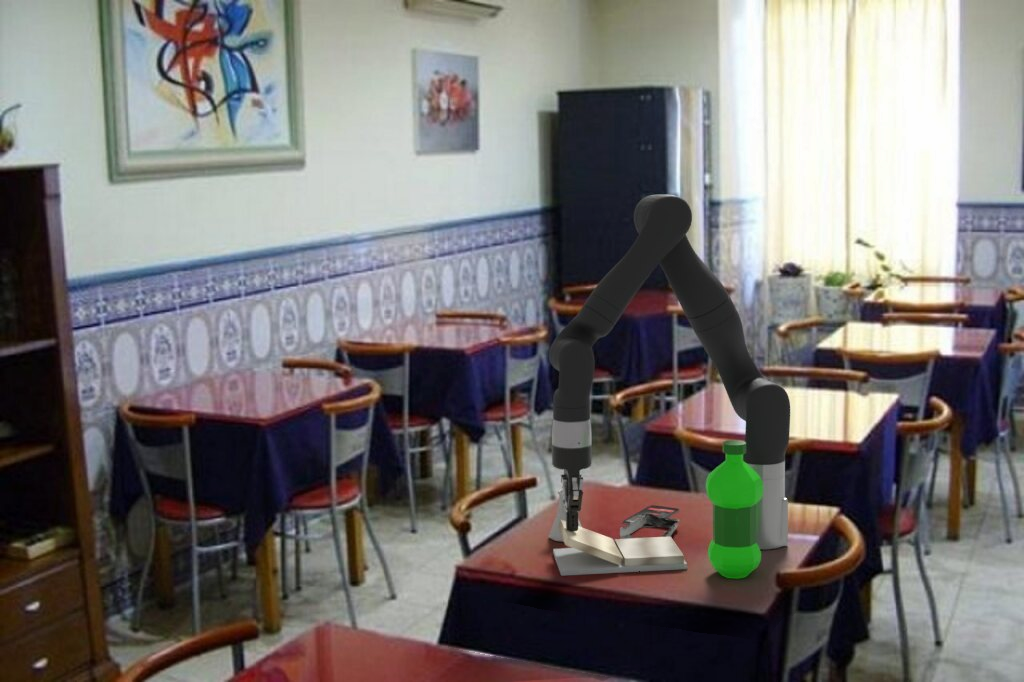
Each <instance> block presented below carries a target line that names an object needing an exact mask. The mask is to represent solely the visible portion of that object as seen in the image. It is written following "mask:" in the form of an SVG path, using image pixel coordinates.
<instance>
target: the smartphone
mask: <svg viewBox="0 0 1024 682" xmlns="http://www.w3.org/2000/svg"><path fill="white" fill-rule="evenodd" d="M679 512H680V508H676V507H668V506H660V505H652V504H651V505H649V506H647V507H645V508H643V509H642V510H639V511H638V512H636V513H635V514H633V515H631V516H630V517H628V518H626V519H624V520H623V521H621V524H622V525H627V526H628V525H629V523H631V522H634V520H636V519H637V518H640V521H641V520H642V518H643V517H644V515H645V514H646V513H652V514H654V515H656V516H659V517H660V518H662V517H663V518H669V519H670V517H672V516H673V515H675V514H676V513H679ZM643 527H644V528H654V527H656V526H655V525H650V524H645V525H643ZM643 527H642V528H643Z"/></svg>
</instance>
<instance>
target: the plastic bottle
mask: <svg viewBox="0 0 1024 682" xmlns="http://www.w3.org/2000/svg"><path fill="white" fill-rule="evenodd" d="M722 453H723V454H725V460H724V461H723V462H721V463H720V464H719V465H718V466H716V467H715V468H714V469H713V470H712V471H710V473H708V475H707V478H706V479H705V490H706V495H707V497H708V499H709V500H710V502H711V503H712V539H711V541H710V543H709V545H708V547H707V556H708V559H709V561H710V563H711V566H712V567H713V569H714V570H715V571H716V572H718V574H720V575H721V576H722V577H724V578H727V579H736V580H738V579H745V578H746V577H748V576H749V575H750V574H751V573H752V572H753V571H755V570H756V569H757V568H758V567H759V565H760V563H761V561H762V551H761V549H759V546H758V544H757V543H756V504H757V503H758V502H759V501H760V500H761V499H762V495H763V482H762V480H761V477H760V476H759V475H758V473H757V472H755V471H754V470H753V469H752V468H751V467H750V466H749V465H748V464H747V463H745V462H744V461H743V454H745V453H746V442H744V440H739V439H732V440H731V439H730V440H724V441H723V442H722Z"/></svg>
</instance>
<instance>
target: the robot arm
mask: <svg viewBox="0 0 1024 682" xmlns="http://www.w3.org/2000/svg"><path fill="white" fill-rule="evenodd" d="M692 222H693V214H692V210H691V207H690V205H689V203H688V202H687V201H686V200H685V199H683V198H682V197H680V196H678V195H676V194H675V195H674V194H666V193H665V194H652V195H647V196H644V197H643V198H641V200H640V201H639V202H638V203H637V204H636V205H635V209H634V213H633V223H634V227H635V229H636V230H635V231H636V232H637V234H638V236H637V237H636V239H635V241H634V242H633V244H632V245H631V246H630V248H629V250H628V251H627V252H626V254H624V256H623V257H622V258H621V259H620V260H619V262H617V263H616V264H615V265H614V266H613V267H612V268H611V269H610V270H609V272H607V274H606V275H604V276H603V278H602V279H601V280H600V281H599V282H598V284H597V285H596V286H595V287H594V289H593V290H592V292H591V293H590V294H589V296H588V298H587V299H586V301H585V302H584V304H583V305H582V306H581V308H580V309H579V311H578V313H577V314H576V316H575V317H573V319H572V320H570V321H569V322H568V324H567V325H566V326H565V327H564V328H563V329H562V330H561V331H560V332H559V333H558V335H557V336H556V338H554V340H553V342H552V343H551V345H550V348H549V352H548V359H549V362H550V364H551V366H552V367H553V368H554V369H555V370H557V371H558V373H559V375H558V387H557V389H555V391H554V393H553V398H552V405H553V406H552V414H553V415H552V429H551V443H552V444H551V464H552V466H553V467H554V469H555V468H556V469H558V470H563V474H560V483H561V490H562V496H563V499H564V500H563V503H564V504H565V506H564V508H565V510H566V528H567V531H577V530H578V519H579V513H580V512H581V510H582V501H583V495H584V491H583V487H584V477H583V476H582V473H580V472H581V470H586V469H588V468H590V467H591V466H592V423H591V397H590V396H591V391H592V388H593V387H592V386H593V382H594V376H595V368H596V367H595V365H596V363H595V355H594V351H593V349H592V347H593V346H594V345H595V344H596V342H597V341H598V340H599V339H600V338H604V337H606V336H607V335H609V333H610V332H611V331H612V330H613V328H614V326H616V324H617V323H618V321H619V319H620V318H621V317H622V314H623V313H625V311H626V309H627V307H628V305H630V303H631V301H632V300H633V298H634V297H635V296H636V295H637V292H638V291H639V290H640V289H641V287H642V286H643V285H644V283H645V281H646V280H648V278H649V277H650V276H651V275H652V273H653V272H654V270H655V269H656V268H657V267H658V266H660V268H661V269H662V272H664V275H665V277H666V278H667V281H668V283H669V286H670V287H671V289H672V291H673V293H674V295H675V297H676V299H677V301H678V303H679V305H680V307H681V309H682V311H683V313H684V315H685V317H686V320H687V321H688V322H689V325H690V327H691V328H692V330H693V332H694V333H695V334H696V337H697V338H698V340H699V342H700V344H701V346H702V347H703V348H704V350H705V352H706V354H707V355H708V357H709V359H710V360H711V362H712V364H713V365H714V367H715V368H716V371H717V373H718V374H719V377H720V379H721V382H722V384H723V387H724V390H725V391H726V394H727V396H728V399H729V402H730V404H731V406H732V408H733V410H734V413H736V415H737V416H738V417H739V418H740V419H742V420H743V421H745V433H744V434H745V435H744V436H745V437H744V440H743V441H744V442H746V453H745V454H743V461H744V462H745V463H747V464H748V465H749V466H750V467H751V468H752V469H753V470H754V471H755V472H757V473H758V475H759V476H760V477H761V480H762V482H763V495H762V499H761V500H760V501H759V502H758V503H757V504H756V543H757V544H758V546H759V549H760V550H773V549H779V548H781V547H788V546H789V541H788V540H789V526H788V525H789V500H788V498H787V497H786V495H785V494H786V491H785V490H786V471H785V470H786V451H787V450H788V447H789V445H790V444H789V443H790V431H791V429H790V428H791V402H790V397H789V395H788V393H787V391H786V390H785V388H784V387H782V386H781V385H780V384H778V383H775V382H773V381H770V380H768V379H766V378H765V377H764V375H763V374H762V373H761V372H760V370H759V368H758V367H757V365H756V363H755V362H754V360H753V359H752V357H751V355H750V352H749V350H748V348H747V344H746V339H745V332H744V328H743V323H742V320H741V317H740V314H739V312H738V309H737V308H736V305H735V304H734V302H733V300H732V298H731V296H730V295H729V292H728V290H727V289H726V288H725V286H724V284H723V283H722V282H721V280H719V278H718V277H717V276H716V275H715V273H714V272H713V271H712V270H711V268H710V267H708V265H707V264H705V262H704V261H703V260H702V259H701V258H700V256H699V255H698V254H697V253H696V252H695V250H694V248H693V246H692V245H691V243H690V241H689V239H688V237H687V235H686V234H687V233H688V232H689V230H690V228H691V225H692Z"/></svg>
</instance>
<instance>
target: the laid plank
mask: <svg viewBox="0 0 1024 682" xmlns="http://www.w3.org/2000/svg"><path fill="white" fill-rule="evenodd" d="M613 541H614V542H615V544H616V546H617V548H618V550H619V552H620V554H621V555H622V557H623V559H622V562H623V563H624V565H625V566H640V565H659V564H678V563H684V560H685V555H684V554H683V552H682V550H681V549H680V548H679V546H678V545H677V544H676V542H675V541H674V539H673V538H672V535H671V536H670V537H662V536H654V537H652V536H651V537H644V538H637V537H635V538H630V539H621V538H618V539H617V538H614V539H613Z"/></svg>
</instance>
